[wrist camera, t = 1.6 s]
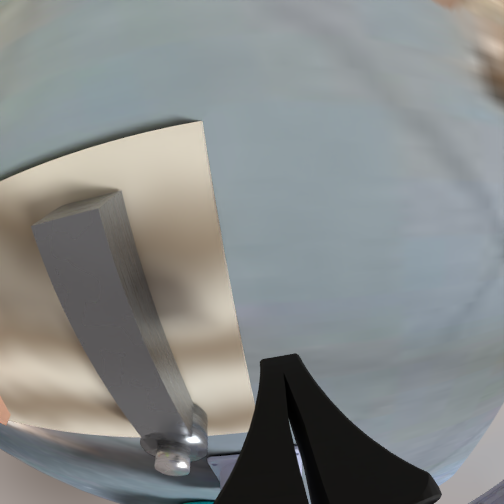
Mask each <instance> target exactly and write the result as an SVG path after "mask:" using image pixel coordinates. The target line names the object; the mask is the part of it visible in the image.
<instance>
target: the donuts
mask: <svg viewBox="0 0 504 504" xmlns="http://www.w3.org/2000/svg"><path fill="white" fill-rule="evenodd" d="M213 503H214V502H209V501H201V502H189V503H184V504H213Z"/></svg>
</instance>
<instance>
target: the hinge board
mask: <svg viewBox="0 0 504 504" xmlns="http://www.w3.org/2000/svg"><path fill="white" fill-rule="evenodd" d="M121 190H122V194H123V199H124V203H125V207H126V211H127V215H128V219H129V222H130V226H131V230H132V233H133V237H134V241H135V244H136V248H137V251H138V255H139V258H140V261H141V265H142V268H143V271H144V274H145V277H146V281H147V284H148V287H149V290H150V293H151V296H152V299H153V302H154V305H155V308H156V310H157V313H158V316H159V319H160V322H161V324H162V327H163V330H164V333H165V335H166V338H167V341H168V343H169V346H170V348H171V351H172V353H173V356H174V359H175V361H176V363H177V366H178V368H179V371H180V373H181V376H182V378H183V380H184V383H185V385H186V387H187V390H188V392H189V394H190V396H191V399H192V401H193V403H194V404H196V405H197V406H199V407H201V408H202V409H203V410H204V411H205V412H206V414H207V417H208V436H211V435H223V434H233V433H242V432H248V431H249V428H250V424H251V421H252V417H253V413H254V410H255V403H254V398H253V393H252V389H251V384H250V379H249V375H248V370H247V365H246V360H245V355H244V351H243V346H242V341H241V336H240V331H239V326H238V321H237V316H236V311H235V306H234V300H233V295H232V290H231V285H230V280H229V274H228V269H227V264H226V258H225V253H224V247H223V242H222V236H221V230H220V225H219V219H218V213H217V208H216V202H215V196H214V190H213V184H212V178H211V172H210V166H209V160H208V153H207V147H206V141H205V134H204V128H203V121H198V122H192V123H187V124H182V125H177V126H172V127H167V128H163V129H158V130H154V131H149V132H145V133H141V134H137V135H133V136H129V137H125V138H121V139H118V140H114V141H111V142H107V143H104V144H100V145H97V146H94V147H90V148H87V149H84V150H81V151H78V152H75V153H72V154H69V155H66V156H63V157H60V158H57V159H54V160H52V161H49V162H46V163H43V164H41V165H38V166H36V167H33V168H31V169H28V170H26V171H23V172H21V173H18V174H16V175H14V176H11V177H9V178H7V179H4V180H2V181H0V396H1V398H2V400H3V402H4V404H5V405H6V407H7V409H8V411H9V413H10V414H11V416H10V418H9V420H8V421H12V422H16V423H21V424H25V425H30V426H35V427H41V428H46V429H52V430H59V431H66V432H73V433H82V434H91V435H103V436H117V437H141V436H140V435H139V434H138V432H137V431H136V430H135V428H134V427H133V426H132V424H131V423H130V422H129V420H128V419H127V417H126V416H125V415H124V413H123V412H122V410H121V409H120V407H119V406H118V404H117V403H116V401H115V400H114V398H113V397H112V395H111V394H110V392H109V391H108V389H107V388H106V386H105V385H104V383H103V381H102V380H101V378H100V377H99V375H98V373H97V372H96V370H95V368H94V366H93V365H92V363H91V361H90V360H89V358H88V356H87V354H86V353H85V351H84V349H83V347H82V345H81V343H80V342H79V340H78V338H77V336H76V334H75V332H74V330H73V328H72V326H71V324H70V322H69V320H68V318H67V316H66V314H65V312H64V310H63V307H62V305H61V303H60V301H59V299H58V297H57V294H56V292H55V290H54V287H53V285H52V283H51V280H50V278H49V275H48V273H47V270H46V268H45V265H44V263H43V260H42V257H41V255H40V252H39V249H38V246H37V243H36V240H35V238H34V235H33V232H32V228H31V226H32V225H33V224H35V223H36V222H38V221H39V220H41V219H42V218H43V217H45V216H46V215H48V214H49V213H51V212H52V211H54V210H55V209H57V208H58V207H60V206H62V205H66V204H69V203H73V202H77V201H81V200H84V199H88V198H92V197H96V196H100V195H104V194H108V193H112V192H117V191H121Z"/></svg>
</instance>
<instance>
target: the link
mask: <svg viewBox="0 0 504 504" xmlns="http://www.w3.org/2000/svg"><path fill="white" fill-rule="evenodd" d="M31 228H32V232H33V235H34V238H35V240H36V243H37V246H38V249H39V252H40V255H41V257H42V260H43V263H44V265H45V268H46V270H47V273H48V275H49V278H50V280H51V283H52V285H53V287H54V290H55V292H56V294H57V297H58V299H59V301H60V303H61V305H62V307H63V310H64V312H65V314H66V316H67V318H68V320H69V322H70V324H71V326H72V328H73V330H74V332H75V334H76V336H77V338H78V340H79V342H80V343H81V345H82V347H83V349H84V351H85V353H86V354H87V356H88V358H89V360H90V361H91V363H92V365H93V366H94V368H95V370H96V372H97V373H98V375H99V377H100V378H101V380H102V381H103V383H104V385H105V386H106V388H107V389H108V391H109V392H110V394H111V395H112V397H113V398H114V400H115V401H116V403H117V404H118V406H119V407H120V409H121V410H122V412H123V413H124V415H125V416H126V417H127V419H128V420H129V422H130V423H131V424H132V426H133V427H134V428H135V430H136V431H137V432H138V434H139V435H140V436H141V440H140V445H141V447H142V448H143V449H144V450H145V451H146V452H147V453H149V454H150V455H152V456H154V457H155V469H156V470H157V471H159V472H161V473H163V474H166V475H172V476H184V475H187V474H189V473H190V462H192V461H197V460H200V459H202V458H203V457H205V456H206V455H207V452H208V417H207V414H206V412H205V411H204V410H203V409H202V408H201V407H199V406H197V405H196V404H194V403H193V401H192V399H191V396H190V394H189V392H188V390H187V387H186V385H185V383H184V380H183V378H182V376H181V373H180V371H179V368H178V366H177V363H176V361H175V359H174V356H173V353H172V351H171V348H170V346H169V343H168V341H167V338H166V335H165V333H164V330H163V327H162V324H161V322H160V319H159V316H158V313H157V310H156V308H155V305H154V302H153V299H152V296H151V293H150V290H149V287H148V284H147V281H146V277H145V274H144V271H143V268H142V265H141V261H140V258H139V255H138V251H137V248H136V244H135V241H134V237H133V233H132V230H131V226H130V222H129V219H128V215H127V211H126V207H125V203H124V199H123V194H122V190H121V191H117V192H112V193H108V194H104V195H100V196H96V197H92V198H88V199H84V200H81V201H77V202H73V203H69V204H66V205H62V206H60V207H58V208H57V209H55V210H54V211H52V212H51V213H49V214H48V215H46V216H45V217H43V218H42V219H41V220H39V221H38V222H36V223H35V224H33V225H32V226H31Z"/></svg>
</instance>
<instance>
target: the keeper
mask: <svg viewBox="0 0 504 504" xmlns="http://www.w3.org/2000/svg"><path fill="white" fill-rule="evenodd" d="M10 416H11V414H10V413H9V411H8V409H7V407H6V405H5V404H4V402H3V400H2V398H1V396H0V423H2V424H4V425H6V424H7V422H8V420H9V418H10Z"/></svg>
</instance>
